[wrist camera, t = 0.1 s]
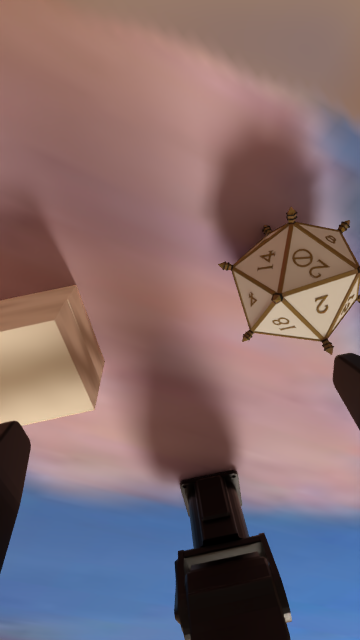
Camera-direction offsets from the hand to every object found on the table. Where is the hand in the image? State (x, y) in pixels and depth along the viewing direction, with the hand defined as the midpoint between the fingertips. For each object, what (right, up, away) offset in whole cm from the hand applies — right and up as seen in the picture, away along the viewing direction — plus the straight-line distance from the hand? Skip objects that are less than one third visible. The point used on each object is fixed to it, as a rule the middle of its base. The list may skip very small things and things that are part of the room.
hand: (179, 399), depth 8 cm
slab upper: (-10, 0, +13) cm, 16 cm away
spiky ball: (+7, +6, +14) cm, 17 cm away
